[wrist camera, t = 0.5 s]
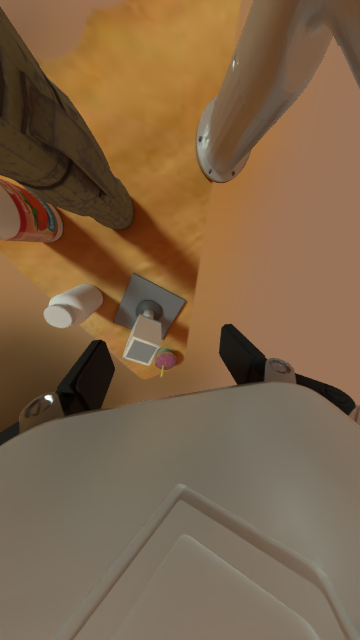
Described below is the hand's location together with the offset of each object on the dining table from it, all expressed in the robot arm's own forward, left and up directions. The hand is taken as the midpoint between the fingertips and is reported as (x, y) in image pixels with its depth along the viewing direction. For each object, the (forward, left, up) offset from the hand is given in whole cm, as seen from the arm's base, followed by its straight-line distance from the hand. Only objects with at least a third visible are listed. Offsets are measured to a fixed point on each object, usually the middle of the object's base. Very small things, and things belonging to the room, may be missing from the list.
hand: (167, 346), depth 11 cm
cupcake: (+28, +15, -35) cm, 47 cm away
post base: (+13, +1, -35) cm, 37 cm away
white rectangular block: (+13, +1, -23) cm, 27 cm away
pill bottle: (+17, -17, -35) cm, 42 cm away
